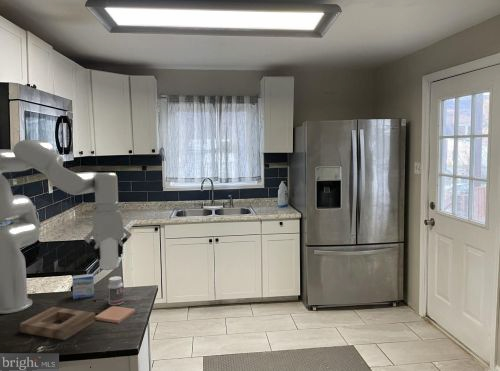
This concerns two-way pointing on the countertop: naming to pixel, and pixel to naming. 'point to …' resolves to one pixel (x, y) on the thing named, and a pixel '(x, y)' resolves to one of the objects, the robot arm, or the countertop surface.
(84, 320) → the well board
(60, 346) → the countertop surface
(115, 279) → the pill bottle
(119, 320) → the tile
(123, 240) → the robot arm
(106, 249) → the can
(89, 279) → the medicine box
